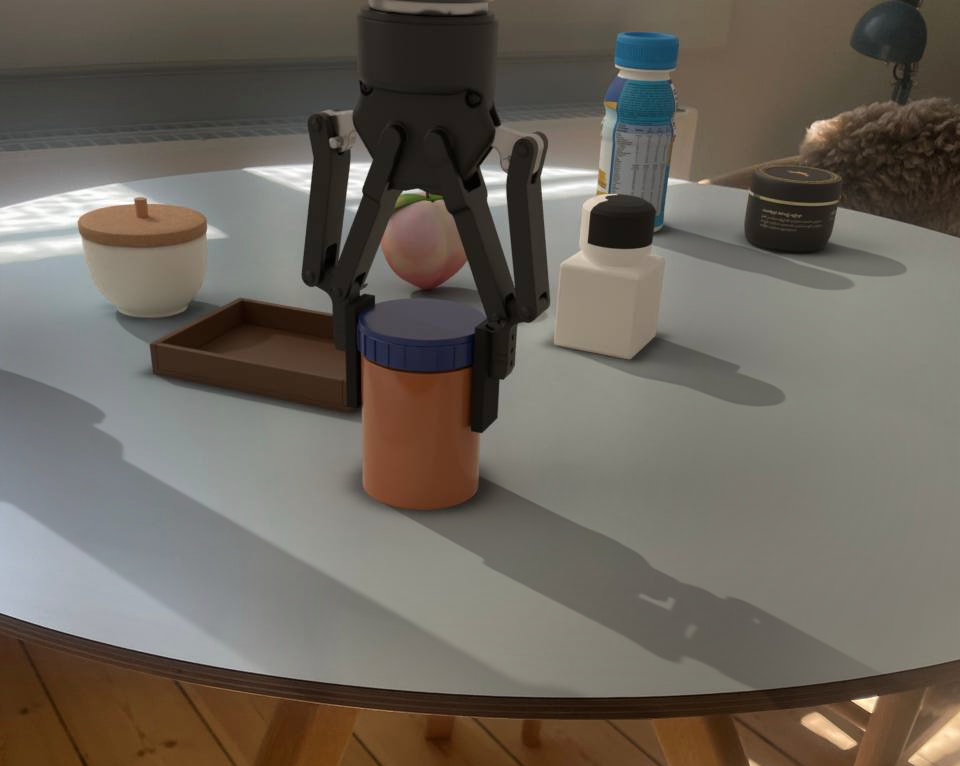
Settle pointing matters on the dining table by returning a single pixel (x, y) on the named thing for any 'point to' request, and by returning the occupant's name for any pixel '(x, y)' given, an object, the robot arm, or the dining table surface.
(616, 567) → the dining table surface
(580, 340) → the medicine bottle
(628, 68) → the beverage bottle
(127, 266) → the trinket box
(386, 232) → the decorative fruit
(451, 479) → the honey jar
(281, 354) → the tray
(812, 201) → the jar
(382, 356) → the lid
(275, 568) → the dining table surface
